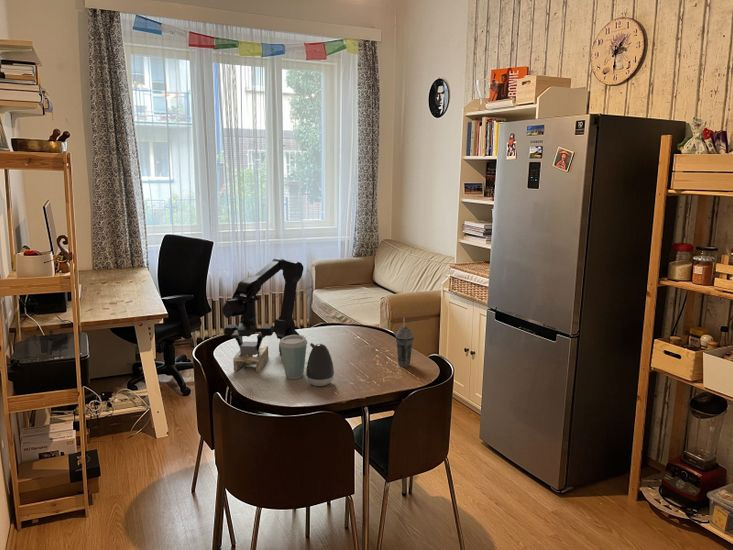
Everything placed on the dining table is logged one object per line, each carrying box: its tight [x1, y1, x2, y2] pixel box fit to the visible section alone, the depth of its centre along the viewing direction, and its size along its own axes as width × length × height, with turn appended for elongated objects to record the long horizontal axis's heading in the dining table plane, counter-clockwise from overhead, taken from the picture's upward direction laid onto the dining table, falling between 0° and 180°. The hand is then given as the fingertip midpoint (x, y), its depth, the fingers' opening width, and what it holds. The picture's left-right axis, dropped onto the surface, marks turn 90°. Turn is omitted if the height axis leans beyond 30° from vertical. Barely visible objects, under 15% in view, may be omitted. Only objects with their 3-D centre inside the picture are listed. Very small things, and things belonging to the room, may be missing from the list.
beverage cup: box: [395, 317, 414, 368], centre depth 230 cm, size 7×7×20 cm
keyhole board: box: [232, 345, 269, 373], centre depth 230 cm, size 10×16×6 cm, turn 177°
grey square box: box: [239, 340, 258, 365], centre depth 228 cm, size 6×6×7 cm
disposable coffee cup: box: [278, 334, 308, 380], centre depth 218 cm, size 11×11×15 cm
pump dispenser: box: [305, 342, 335, 387], centre depth 210 cm, size 10×10×15 cm
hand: (249, 351), depth 227 cm, fingers closed on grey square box, 6 cm apart
